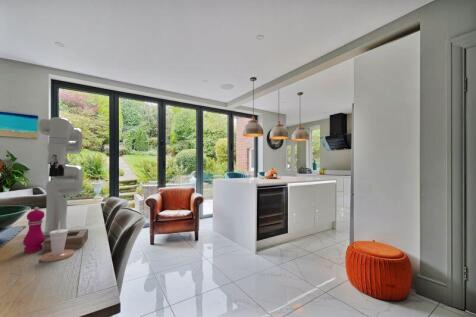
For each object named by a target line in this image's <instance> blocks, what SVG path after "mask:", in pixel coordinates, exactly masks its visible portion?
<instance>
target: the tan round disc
mask: <svg viewBox="0 0 476 317" xmlns="http://www.w3.org/2000/svg"><path fill="white" fill-rule="evenodd" d="M74 252H75V249H64V252H63V254H60V255H55V256H53V255H52V252H45V253H44V254H42V255H40V256H39V261H40V262H41V263H42V262H43V263H50V262H57V261H62V260H66V259H67V258H70V257H72V256H74Z"/></svg>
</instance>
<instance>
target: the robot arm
mask: <svg viewBox="0 0 476 317" xmlns="http://www.w3.org/2000/svg"><path fill="white" fill-rule="evenodd" d="M37 124H38V125H37V127H38V131H39V132H40V134H41V135H45V136H48V143H47V154H48V155H47V159H46V160H47V161H46V163H47V164H48V165H49V167H48V170H49V171H48V177H49V178H50V177H51V179H50V180H49V181H47V182H46V184H45V194H46V205H45V206H46V210H45V222H44V224H45V225H44V230H42V232H43V234H44V236H50V235H49V233H50V232H51V231H55V230H58V222H59V221H60V230H61V229H67V230H68V231H70V228H69V227H67V219H68V218H67V217H68V200H67V199H66V198H65V197H64V196H68V195H79V194H81V193H82V192H83V187H84V173H83V172H84V170H83V167H81V166H80V165H69V164H70V161H69V159H68V158H67V154H70V155H71V154H74V155H78V154H80V153H81V152H82V149H83V131H82V130H81V129H80V128H75V125H74V124H73V123H72V122H71V121H70V120H69V119H67V118H65V117H57V116H56V117H55V116H54V117H51V118H41V119H40V120H38V123H37Z"/></svg>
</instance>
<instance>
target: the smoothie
mask: <svg viewBox="0 0 476 317" xmlns="http://www.w3.org/2000/svg"><path fill="white" fill-rule="evenodd" d="M67 233H68V230H67V229H61V230H60V221H59V222H58V230H55V231H51V232H50V233H49V235H48V236H49V237H50V239H51V249H52V255H53V256H55V255H60V254H63V252H64V247H65V242H66V237H67Z"/></svg>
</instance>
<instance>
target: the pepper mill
mask: <svg viewBox="0 0 476 317" xmlns="http://www.w3.org/2000/svg"><path fill="white" fill-rule="evenodd" d="M45 216H46V213H45V212H44V211H43V210H40V207H39V206H35V207H33V210H31V211H30V212H28V213H27V215H26V219H27V220H28V221H27V225H28V231H27V233H26V235H25V236H24V238H23V242H22V245H23V246H24V248H23V253H25V254H30V253H35V252H39V251H42V250H44V241H45V240H46V239H45V238H46V237H45V235H44V234H43V229H42V224H43V219H44V218H45Z"/></svg>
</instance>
